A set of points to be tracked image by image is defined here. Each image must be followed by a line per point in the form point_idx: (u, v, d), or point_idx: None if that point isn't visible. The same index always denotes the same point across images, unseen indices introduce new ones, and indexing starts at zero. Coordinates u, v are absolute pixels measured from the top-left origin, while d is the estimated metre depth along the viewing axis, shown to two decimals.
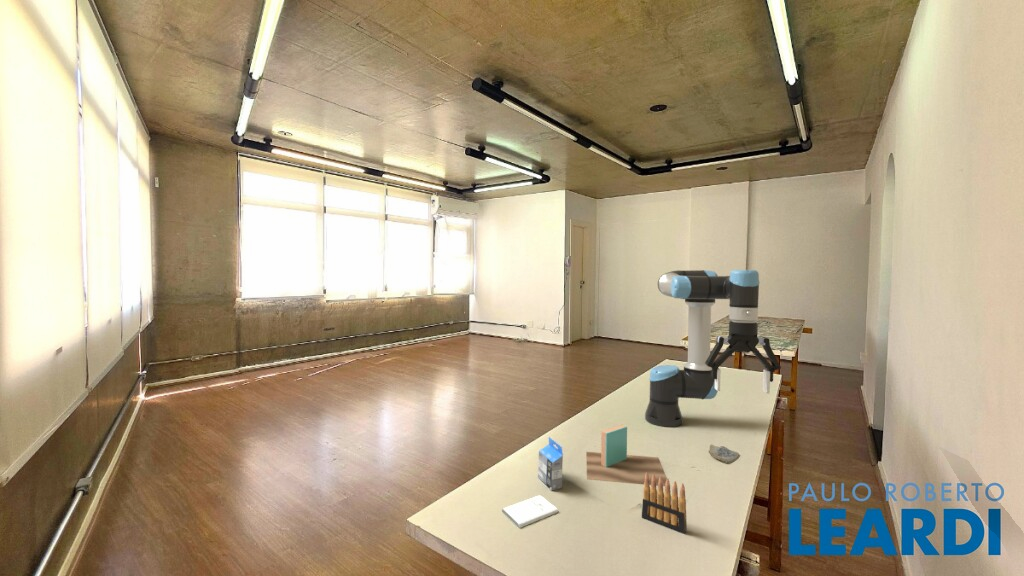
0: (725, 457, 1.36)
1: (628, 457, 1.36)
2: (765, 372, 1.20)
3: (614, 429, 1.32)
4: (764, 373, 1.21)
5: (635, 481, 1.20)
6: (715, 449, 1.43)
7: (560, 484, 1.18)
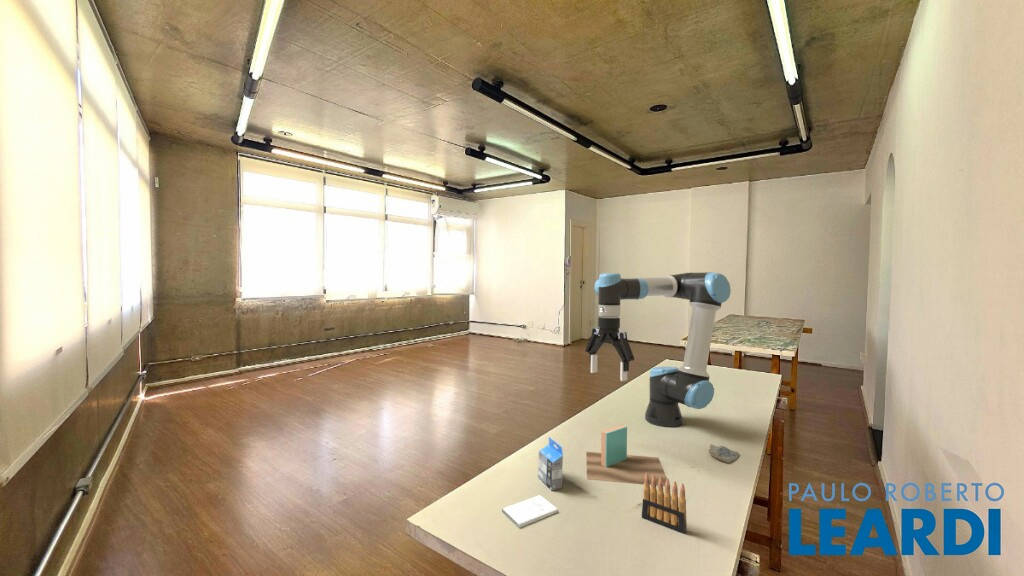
0: (726, 457, 1.36)
1: (628, 457, 1.36)
2: None
3: (614, 429, 1.32)
4: None
5: (635, 481, 1.20)
6: (715, 449, 1.43)
7: (560, 484, 1.18)
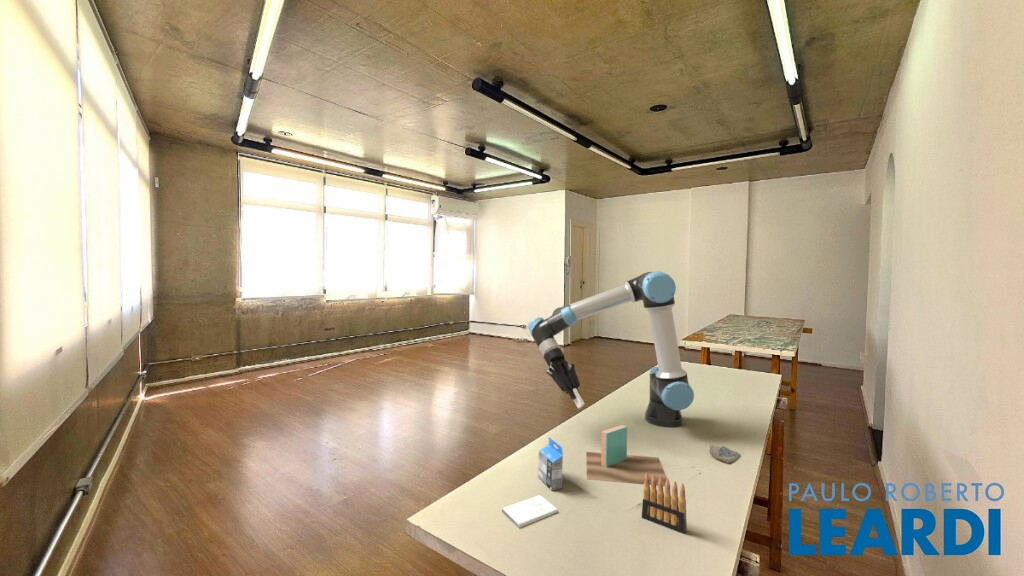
0: (726, 457, 1.36)
1: (628, 457, 1.36)
2: None
3: (614, 429, 1.32)
4: None
5: (635, 481, 1.20)
6: (716, 449, 1.43)
7: (560, 484, 1.18)
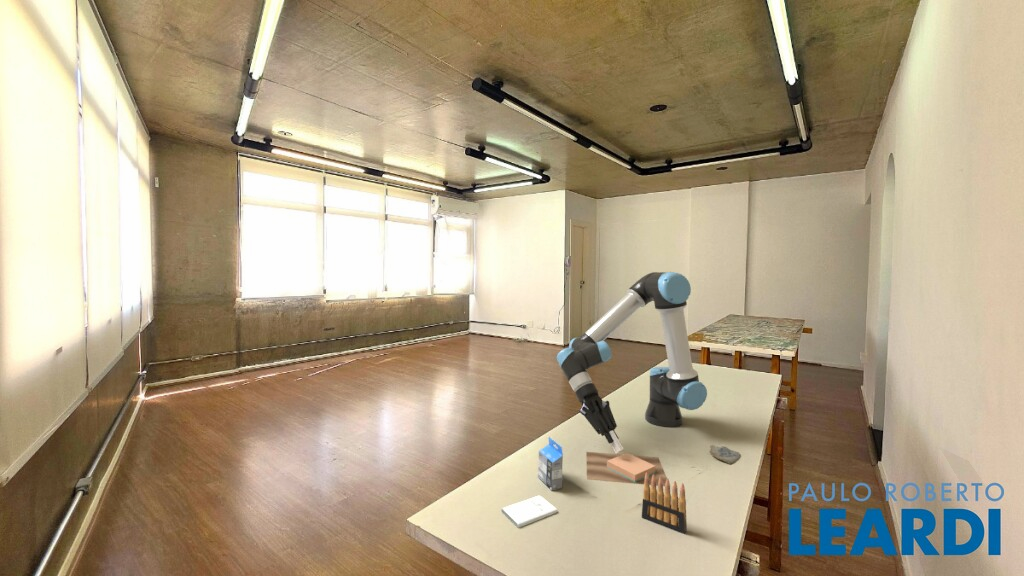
0: (727, 457, 1.36)
1: None
2: None
3: (644, 474, 1.23)
4: None
5: None
6: (716, 449, 1.43)
7: (560, 484, 1.18)
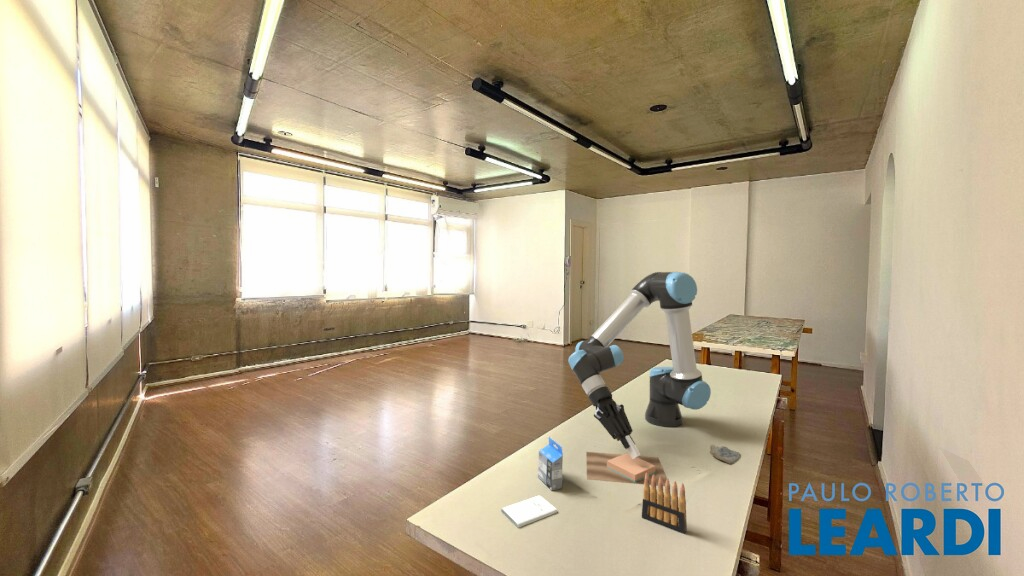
0: (727, 458, 1.36)
1: None
2: None
3: (644, 474, 1.23)
4: None
5: None
6: (716, 449, 1.43)
7: (560, 484, 1.18)
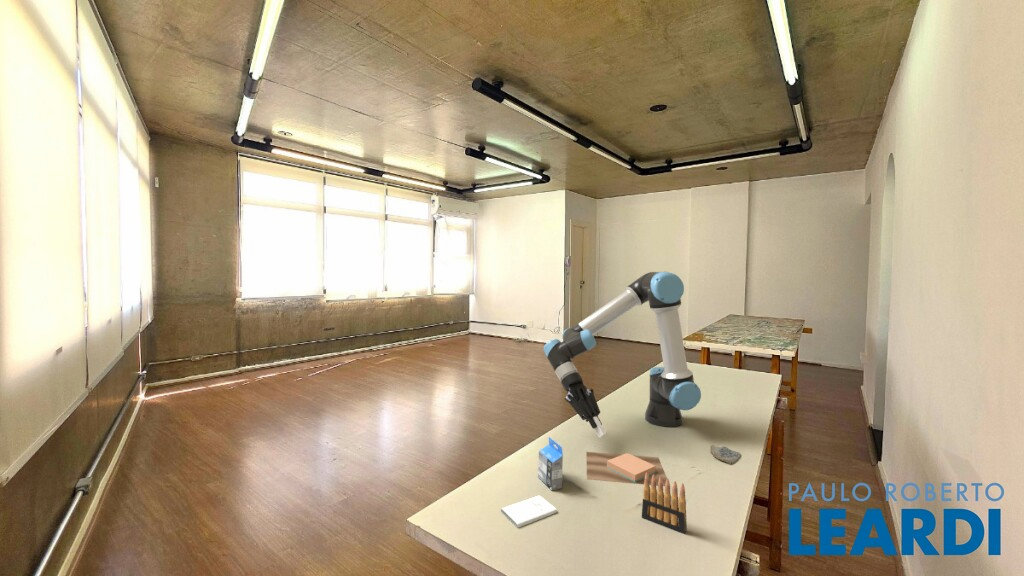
0: (728, 458, 1.36)
1: None
2: None
3: (644, 474, 1.23)
4: None
5: None
6: (716, 450, 1.43)
7: (560, 484, 1.18)
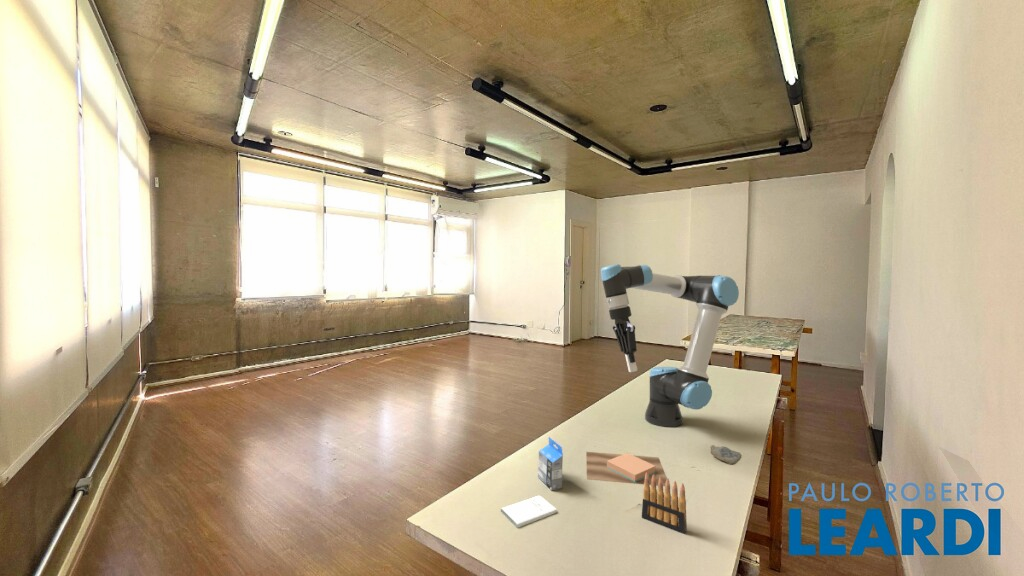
0: (728, 458, 1.36)
1: None
2: None
3: (644, 474, 1.23)
4: None
5: None
6: (717, 450, 1.42)
7: (560, 484, 1.18)
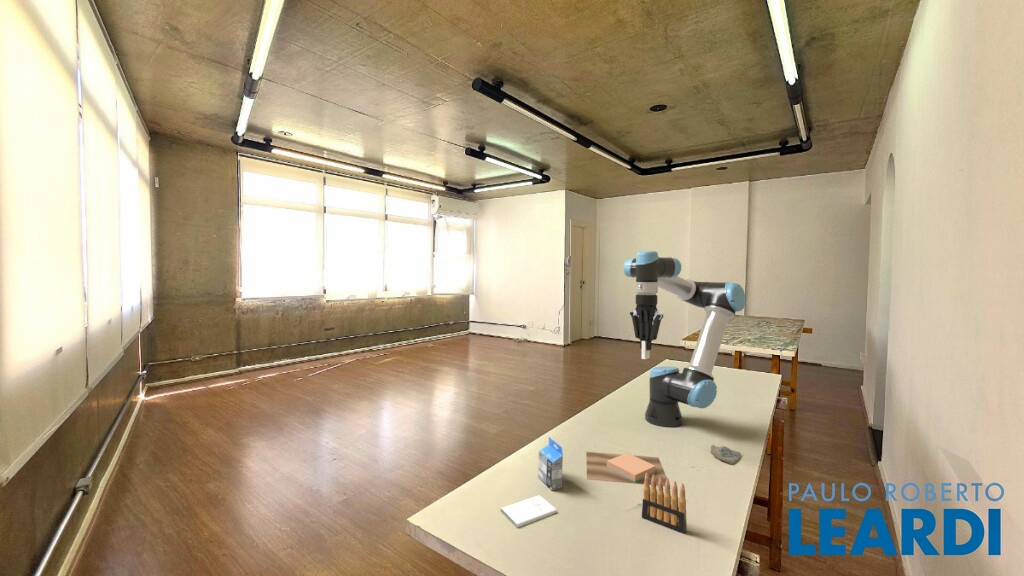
0: (729, 458, 1.36)
1: None
2: None
3: (644, 474, 1.23)
4: None
5: None
6: (717, 450, 1.42)
7: (560, 484, 1.18)
